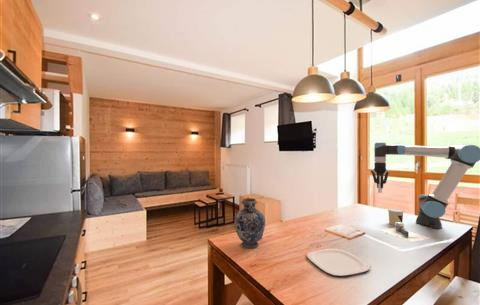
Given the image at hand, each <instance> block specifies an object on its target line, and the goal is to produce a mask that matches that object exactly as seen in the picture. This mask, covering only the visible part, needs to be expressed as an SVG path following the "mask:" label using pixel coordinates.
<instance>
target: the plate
mask: <svg viewBox="0 0 480 305" xmlns="http://www.w3.org/2000/svg"><path fill="white" fill-rule="evenodd" d="M306 257H307V259H308V260H309V261H310V262H312V263H313V264H314V265H315V266H316V267H318V268H319V269H320V270H322V271H323V272H324V273H327V274H329V275H332V276H335V277H336V276H337V277H344V276H345V277H346V276H347V277H348V276H352V275H359V274H362V273H365V272H368V271H369V270H370V269H371V267H370V266H369V264H367V263H366V262H365V261H364V260H362V259H360V258H359V257H357V256H356V255H354V254H352V253H350V252H348V251H346V250H344V249H340V248H324V249H319V250H313V251H310V252H308V253H307V254H306Z"/></svg>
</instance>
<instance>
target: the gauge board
mask: <svg viewBox="0 0 480 305" xmlns="http://www.w3.org/2000/svg"><path fill="white" fill-rule="evenodd" d="M379 231H380V232H384V233H385V234H389V235H391V236H395V237H397V238H401V239H403V240H405V241H407V242H411V243H417V242H421V241H425V240H430V239H431V237H429V236H425V235H422V234H419V233H416V232H412V231H409V230H407V231H408V236H405V235H404V234H402V233H401V232H399V231H396V226H395V227H390V228H383V229H379Z"/></svg>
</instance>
